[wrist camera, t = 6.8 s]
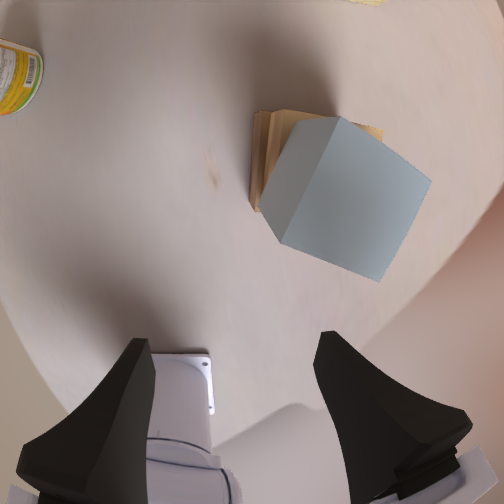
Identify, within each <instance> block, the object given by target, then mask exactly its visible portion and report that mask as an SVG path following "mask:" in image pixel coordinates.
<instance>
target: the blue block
mask: <svg viewBox="0 0 504 504" xmlns="http://www.w3.org/2000/svg"><path fill="white" fill-rule="evenodd" d="M431 182H432V181H431V180H430V179H429V178H428V177H427V176H425V175H424V174H423V173H422V172H420V171H419V170H418V169H417V168H415V167H414V166H413V165H412V164H410V163H409V162H408V161H406V160H405V159H404V158H402V157H401V156H400V155H398V154H397V153H396V152H394V151H393V150H392V149H390V148H389V147H387V146H386V145H384V144H383V143H382V142H380V141H379V140H377V139H376V138H374V137H373V136H371V135H370V134H368V133H367V132H365V131H364V130H362V129H361V128H359V127H358V126H356V125H354V124H353V123H351V122H350V121H348V120H346V119H345V118H343V117H341V116H336V117H326V118H317V119H308V120H300V121H296V122H295V124H294V126H293V128H292V131H291V133H290V135H289V137H288V139H287V141H286V143H285V145H284V148H283V150H282V152H281V154H280V156H279V158H278V160H277V163H276V165H275V167H274V169H273V171H272V173H271V175H270V178H269V180H268V182H267V184H266V186H265V188H264V191H263V193H262V195H261V197H260V199H259V202H258V204H257V206H258V208H259V210H260V211H261V213H262V214H263V216H264V218H265V219H266V221H267V223H268V224H269V226H270V227H271V229H272V231H273V232H274V234H275V236H276V237H277V239H278V241H279V242H280V243H281V244H284V245H286V246H289V247H291V248H294V249H296V250H299V251H301V252H304V253H307V254H309V255H312V256H314V257H317V258H319V259H322V260H324V261H327V262H329V263H332V264H334V265H337V266H339V267H342V268H344V269H347V270H349V271H352V272H354V273H357V274H359V275H362V276H364V277H367V278H369V279H372V280H374V281H377V282H380V281H381V279H382V277H383V276H384V274H385V272H386V271H387V269H388V267H389V265H390V264H391V262H392V260H393V258H394V257H395V255H396V253H397V251H398V249H399V248H400V246H401V244H402V242H403V240H404V238H405V236H406V234H407V232H408V231H409V229H410V227H411V225H412V223H413V221H414V219H415V217H416V215H417V213H418V210H419V208H420V206H421V204H422V202H423V200H424V198H425V196H426V193H427V191H428V189H429V187H430V184H431Z"/></svg>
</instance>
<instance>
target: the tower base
mask: <svg viewBox="0 0 504 504" xmlns="http://www.w3.org/2000/svg"><path fill="white" fill-rule="evenodd" d="M271 113H272V112H271V111H260V112H257V113H255V114H254V127H253V143H252V159H251V175H250V192H249V202H250V204H251V206H252V208H253V210H254V211H255V212H261V211H260V210H259V208H258V206H257V204H258V202H259V199H260V197H261V195H262V188H263V180H264V171H265V162H266V153H267V144H268V135H269V126H270V117H271Z"/></svg>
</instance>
